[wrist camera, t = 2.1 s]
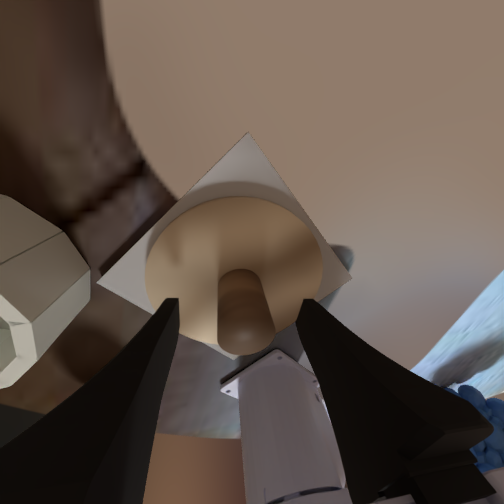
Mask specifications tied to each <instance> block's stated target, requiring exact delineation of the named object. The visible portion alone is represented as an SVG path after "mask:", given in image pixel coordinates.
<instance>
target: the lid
mask: <svg viewBox="0 0 504 504" xmlns="http://www.w3.org/2000/svg"><path fill="white" fill-rule="evenodd" d="M322 273H323V261H322V255H321V250H320V247H319V245H318V242H317V240H316V238H315V237H314V235H313V234H312V232H311V231H310V229H309V228H308V227H307V226H306V225H305V224H304V223H303V222H302V221H301V220H300V219H299V218H298V217H296V216H295V215H294V214H293V213H292V212H290V211H289V210H287V209H285V208H284V207H282V206H280V205H278V204H276V203H273V202H271V201H268V200H264V199H260V198H256V197H248V196H229V197H222V198H216V199H212V200H209V201H206V202H203V203H200V204H198V205H196V206H194V207H191V208H190V209H188V210H186V211H185V212H183V213H182V214H180V215H179V216H178V217H176V218H175V219H174V220H173V221H172V222H171V223H170V224H169V225H168V226H167V227H166V228H165V229H164V230H163V232H162V233H161V234H160V236H159V237H158V239H157V241H156V242H155V244H154V245H153V247H152V249H151V251H150V254H149V256H148V259H147V263H146V267H145V287H146V292H147V295H148V298H149V301H150V303H151V305H152V307H153V308H154V310H155V311H156V310H157V309H158V308H159V306H160V305H161V304H162V302H163V301H164V300H165V299H166V298H179V313H180V328H179V333H180V334H182V335H185V336H187V337H189V338H191V339H194V340H197V341H201V342H205V343H210V344H217V345H219V346H220V347H221V348H222V349H223V350H224V351H226V352H228V353H230V354H234V355H249V354H254V353H257V352H259V351H261V350H263V349H265V348H266V347H267V346H268V345H270V344H271V342H272V341H273V339H274V337H275V334H276V333H278V332H280V331H282V330H283V329H285V328H287V327H288V326H290V325H291V324H292V323H293V322H295V321H296V320H297V317H298V314H299V311H300V308H301V305H302V302H303V299H314V298H315V296H316V294H317V292H318V289H319V287H320V284H321V279H322Z"/></svg>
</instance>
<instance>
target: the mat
mask: <svg viewBox="0 0 504 504" xmlns="http://www.w3.org/2000/svg"><path fill="white" fill-rule="evenodd" d="M229 196H248V197H256V198H260V199H264V200H268V201H271V202H273V203H276V204H278V205H280V206H282V207H284V208H285V209H287V210H289V211H290V212H292V213H293V214H294V215H295V216H296V217H298V218H299V219H300V220H301V221H302V222H303V223H304V224H305V225H306V226H307V227H308V228H309V229H310V231H311V232H312V234H313V235H314V237H315V238H316V240H317V242H318V245H319V247H320V250H321V255H322V261H323V273H322V279H321V284H320V287H319V289H318V292H317V294H316V296H315V298H314V300H315V301H316V302H319V301H320V300H321V299H323V298H324V297H326V296H327V295H329V294H330V293H332V292H333V291H335V290H336V289H337V288H339V287H340V286H342V285H343V284H345V283H346V282H347V281H349V280H351V279H352V277H351V275H350V274H349V273H348V271H347V270H346V268H345V267H344V266H343V264H342V263H341V261H340V260H339V259H338V257H337V256H336V254H335V253H334V252H333V250H332V249H331V247H330V246H329V245H328V243H327V242H326V240H325V239H324V238H323V236H322V235H321V233H320V232H319V231H318V229H317V228H316V226H315V225H314V224H313V222H312V221H311V219H310V218H309V217H308V215H307V214H306V212H305V211H304V209H303V208H302V207H301V205H300V204H299V203H298V201H297V200H296V198H295V197H294V195H293V194H292V193H291V191H290V190H289V188H288V187H287V186H286V184H285V183H284V181H283V180H282V179H281V177H280V176H279V174H278V173H277V171H276V170H275V169H274V167H273V166H272V165H271V163H270V162H269V160H268V159H267V157H266V156H265V155H264V153H263V152H262V151H261V149H260V148H259V146H258V145H257V143H256V142H255V141H254V139H253V138H252V136H251V135H250V134H249V132H248V133H246V134H245V135H244V136H243V137H242V138H241V139H240V140H239V141H238V142H237V143H236V144H235V145H234V146H233V147H232V148H231V149H230V150H229V151H228V152H227V153H226V154H225V155H224V156H223V157H222V158H221V159H220V160H219V161H218V162H217V163H216V164H215V165H214V166H213V167H212V168H211V169H210V170H209V171H208V172H207V173H206V174H205V175H204V176H203V177H202V178H201V179H200V180H199V181H198V182H197V183H196V184H195V185H194V186H193V187H192V188H191V189H190V190H189V191H188V192H187V193H186V194H185V195H184V196H183V197H182V198H181V199H180V200H179V201H178V202H177V203H176V204H175V205H174V206H173V207H172V208H171V209H170V210H169V211H168V212H167V213H166V214H165V215H164V216H163V217H162V218H161V219H160V220H159V221H158V222H157V223H156V224H155V225H154V226H153V227H152V228H151V229H150V230H149V231H148V232H147V233H146V234H145V235H144V236H143V237H142V238H141V239H140V240H139V241H138V242H137V243H136V244H135V245H134V246H133V247H132V248H131V249H130V250H129V251H128V252H127V253H126V254H125V255H124V256H123V257H122V258H121V259H120V260H119V261H118V262H117V263H116V264H114V265H113V266H112V267H111V268H110V269H109V270H108V271H107V272H106V273H105V274H104V275H103V276H102V277H101V279H100V280H99V281H98V282H97V283H98V284H100V285H101V286H103V287H105V288H107V289H108V290H110V291H112V292H114V293H116V294H117V295H119V296H121V297H123V298H124V299H126V300H128V301H130V302H132V303H133V304H135V305H137V306H139V307H140V308H142V309H144V310H146V311H148V312H149V313H151V314H154V313H155V312H156V311H155V310H154V308H153V307H152V305H151V303H150V301H149V298H148V295H147V292H146V287H145V267H146V263H147V259H148V256H149V254H150V251H151V249H152V247H153V245H154V244H155V242H156V241H157V239H158V237H159V236H160V234H161V233H162V232H163V230H164V229H165V228H166V227H167V226H168V225H169V224H170V223H171V222H172V221H173V220H174V219H175V218H176V217H178V216H179V215H180V214H182V213H183V212H185V211H186V210H188V209H190V208H191V207H194V206H196V205H198V204H200V203H203V202H206V201H209V200H212V199H216V198H222V197H229ZM203 343H204V344H206V345H208V346H210V347H212V348H213V349H215V350H217V351H219V352H220V353H222V354H224V355H226V356H228V357H229V358H231V359H233V360H234V359H236V358H237V357H238V356H240V355H234V354H230V353H228V352H226V351H224V350H223V349H222V348H221V347H220V346H219V345H217V344H210V343H205V342H203Z"/></svg>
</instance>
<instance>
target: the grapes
mask: <svg viewBox="0 0 504 504" xmlns="http://www.w3.org/2000/svg"><path fill="white" fill-rule="evenodd" d="M443 389H445V390H447V391H449V392H451V393H453V394H455V395H457V396H459V397H461V398H463V399H465V400H467V401H469V402H470V403H471V404H472V405H473V406H474V407H475V408H476V409H477V410H478V411H479V412H480V413H481V414H482V415H483V416H484V417H485V418H486V419H487V420H488V421H489V422H490V423H491V424H492V425H493V427H494V431H493V433H492V434H491V435H490V436H489V437H487V438H486V439H484V440H483V441H481V442H480V443H478V444H477V445H475V446H473V447H472V448H470V449H469V450H470V451H471V452H472V453H473V455H474V456H475V457H476V458H477V461H478V462H477V463H474V464H475V466H476V467H477V468H478V469H479V471H480V472H481V473H483V472H486V471H489V470H493V469H497V468H501V467H504V401H502V400H500V399H497V398H490V399H487V400H485V398H484V397H483V395H482V394H481V392H480V391H478V390H477V389H476V388H474V387H473V386H469V385H461V386H460V387H459V388H458V393H457V392H455V391H454V390H453V389H450V388H443Z"/></svg>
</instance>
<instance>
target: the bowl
mask: <svg viewBox="0 0 504 504" xmlns="http://www.w3.org/2000/svg"><path fill="white" fill-rule="evenodd" d="M62 231H63V230H61V229H60V228H58V227H56V226H55V225H53V224H52V223H50V222H49V221H47V220H45V219H44V218H42V217H41V216H39V215H37V214H36V213H34V212H33V211H31V210H30V209H28V208H26V207H25V206H23V205H22V204H20V203H19V202H17V201H15V200H14V199H12V198H11V197H8V196H6V195H2V194H0V389H1V388H5V387H9V386H12V385H13V384H14V383H15V382H16V381H17V380H18V379H19V378H20V377H21V376H22V375H23V374H24V373H25V372H26V371H27V370H28V369H29V368H30V367H31V366H32V365H34V364H35V363H36V362H37V361H38V359H39V358H40V357H41V356H42V355H43V354H44V353H45V351H46V350H47V349H48V348H49V347H50V346H51V344H52V343H53V342H54V341H55V340H56V339H57V337H58V336H59V335H60V334H61V333H62V332H63V331H64V329H65V328H66V327H67V326H68V325H69V324H70V322H71V321H72V320H73V319H74V318H75V317H76V315H77V314H78V313H79V312H80V311H81V310H82V309H83V307H84V306H85V305H86V304H87V303H88V302H89V300H90V269H89V268H90V267H89V266H88V265H87V263H86V262H85V260H84V259H83V258H82V256H81V255H80V253H79V252H78V251H77V249H76V248H75V246H74V245H73V244H72V242H71V241H70V239H69V238H68V237H67V235H66V234H65V232H62Z"/></svg>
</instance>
